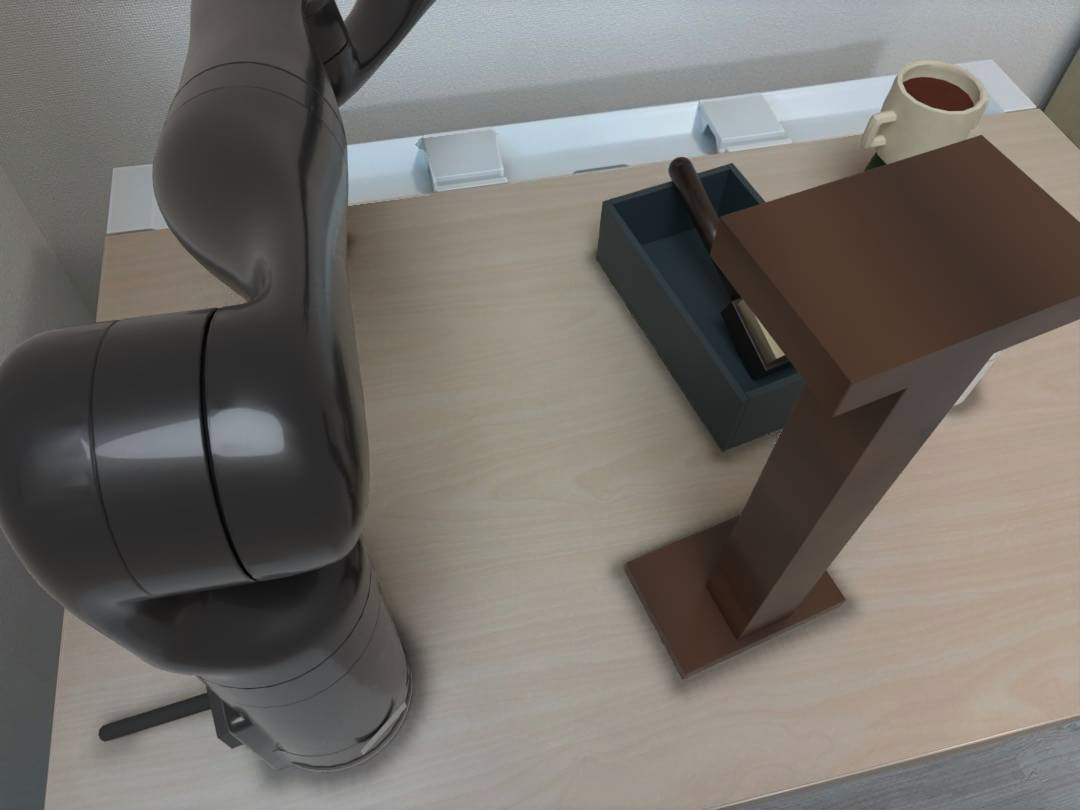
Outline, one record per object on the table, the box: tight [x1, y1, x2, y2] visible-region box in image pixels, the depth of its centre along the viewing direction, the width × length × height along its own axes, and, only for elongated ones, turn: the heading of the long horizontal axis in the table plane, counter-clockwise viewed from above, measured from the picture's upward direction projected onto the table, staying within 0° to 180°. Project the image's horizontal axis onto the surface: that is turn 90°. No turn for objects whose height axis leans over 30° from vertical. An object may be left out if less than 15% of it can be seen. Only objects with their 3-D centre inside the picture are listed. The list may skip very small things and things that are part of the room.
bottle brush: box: [667, 156, 792, 380], centre depth 65 cm, size 4×19×4 cm, turn 25°
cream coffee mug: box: [860, 59, 990, 172], centre depth 71 cm, size 11×7×13 cm, turn 106°
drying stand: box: [624, 134, 1080, 680], centre depth 43 cm, size 12×8×32 cm, turn 114°
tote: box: [595, 162, 806, 452], centre depth 66 cm, size 12×21×7 cm, turn 24°
